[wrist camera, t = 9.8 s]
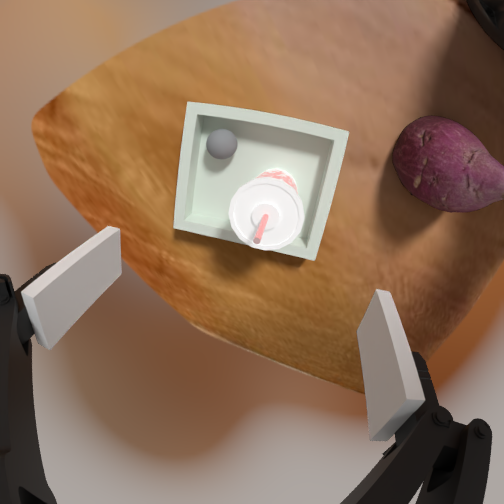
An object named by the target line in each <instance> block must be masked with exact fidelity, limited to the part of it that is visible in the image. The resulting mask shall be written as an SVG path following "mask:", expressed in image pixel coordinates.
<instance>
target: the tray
mask: <svg viewBox="0 0 504 504" xmlns="http://www.w3.org/2000/svg"><path fill="white" fill-rule="evenodd" d="M218 129H227V130H229V131H231V132H232V133H233V134H234V135H235V136H236V138H237V142H238V145H237V150H236V152H235V153H234V154H233V155H232V156H231V157H229V158H227V159H216V158H214V157H212V156H211V155H210V154H209V152H208V151H207V148H206V141H207V138H208V136H209V135H210V134H211V133H212V132H213V131H215V130H218ZM348 135H349V132H348V131H345V130H342V129H338V128H334V127H330V126H326V125H322V124H318V123H314V122H310V121H306V120H301V119H297V118H292V117H287V116H282V115H277V114H272V113H267V112H261V111H256V110H250V109H243V108H237V107H230V106H223V105H215V104H207V103H197V102H188V103H187V109H186V116H185V123H184V130H183V138H182V145H181V154H180V162H179V171H178V181H177V191H176V202H175V214H174V227H173V228H175V229H180V230H184V231H189V232H193V233H197V234H202V235H206V236H210V237H215V238H219V239H223V240H228V241H232V242H236V243H241V244H245V245H248V244H246V243H245V242H243V241H242V240H240V239H239V238H238V236H237V235H236V233H235V232H234V230H233V229H232V227H231V223H230V219H229V214H228V213H229V208H230V202H231V199H232V198H233V196H234V195H235V193H236V192H237V190H238V189H239V188H240V187H241V186H242V185H244V184H246V183H247V182H249V181H250V180H252V179H255V178H256V177H257V176H259V175H260V174H261V173H263V172H265V171H266V170H268V169H275V168H277V169H281V170H285V171H286V172H288V173H289V174H290V175H292V177H293V179H294V180H295V182H296V186H297V192H298V195H299V197H300V199H301V200H302V203H303V210H304V222H303V225H302V229H301V232H300V233H299V234H298V236H297V237H296V238H295V239H294V240H293V242H292V243H290V244H288V245H286V246H284V247H282V248H280V249H275V250H271V251H275V252H279V253H284V254H288V255H292V256H297V257H301V258H305V259H309V260H314V261H315V258H316V255H317V252H318V248H319V245H320V242H321V238H322V235H323V231H324V228H325V224H326V221H327V217H328V214H329V210H330V206H331V203H332V199H333V195H334V192H335V188H336V184H337V180H338V176H339V172H340V168H341V164H342V160H343V156H344V152H345V148H346V144H347V140H348Z"/></svg>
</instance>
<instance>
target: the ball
mask: <svg viewBox="0 0 504 504" xmlns="http://www.w3.org/2000/svg"><path fill="white" fill-rule="evenodd" d="M237 145H238V142H237V138H236V136H235V135H234V134H233V133H232V132H231V131H229V130H227V129H218V130H215V131H213V132H212V133H211V134H210V135H209V136H208V138H207V141H206V148H207V151H208V152H209V154H210V155H211V156H212V157H214V158H216V159H227V158H229V157H231V156H232V155H233V154H234V153H235V152H236V150H237Z"/></svg>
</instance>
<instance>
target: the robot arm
mask: <svg viewBox="0 0 504 504" xmlns="http://www.w3.org/2000/svg"><path fill="white" fill-rule="evenodd" d="M466 1H467V3H468V5H469V7H470V9H471V11H472V13H473V14H474V16H475V18H476V19H477V21H478V22H479V24H480V25H481V26H482V28H483V29H484V30H485V32H486V33H487V34H488V35H489V36H490V37H491V38H492V39H493V40H494V42H496V43H497V44H498V45H499V46H500V47H501V48H502V49H503V50H504V0H466ZM121 274H122V269H121V248H120V229H118V228H114V227H110V226H108V227H106V228H105V229H103V230H102V231H100V232H99V233H97V234H96V235H95V236H93V237H92V238H90V239H89V240H87V241H86V242H85V243H83V244H82V245H81V246H79V247H78V248H77V249H75V250H74V251H72V252H71V253H70V254H68V255H67V256H66V257H64V258H63V259H62V260H60V261H59V262H58V263H53V264H51V265H49V266H46V267H45V268H44V269H42V270H41V271H40V272H39V274H36V275H35V276H33V278H31V279H30V280H28V281H27V282H26V283H25V284H23V285H22V286H21V287H20V288H18V289H17V290H16V291H15V292H14V289H13V285H12V281H11V278H10V277H9V275H6V274H0V504H57V502H56V499H55V497H54V495H53V493H52V491H51V489H50V488H49V486H48V484H47V481H46V478H45V474H44V469H43V465H42V460H41V454H40V448H39V442H38V435H37V428H36V420H35V410H34V399H33V385H32V384H33V383H32V343H31V339H30V338H31V337H32V335H33V334H35V336H36V339H37V342H38V344H40V345H42V346H43V347H45V348H47V349H49V350H51V349H52V348H53V346H54V345H55V344H56V343H57V342H58V341H59V340H60V338H61V337H62V336H63V335H64V334H65V333H66V332H67V331H68V330H69V328H70V327H71V326H72V325H73V324H74V323H75V322H76V321H77V320H78V319H79V318H80V316H81V315H82V314H83V313H84V312H85V311H86V310H87V309H88V308H89V307H90V306H91V305H92V304H93V303H94V301H96V300H97V299H98V297H99V296H100V295H101V294H102V293H103V292H104V291H105V290H106V289H107V288H108V287H109V286H110V285H111V284H112V283H113V282H114V281H115V280H116V279H117V278H118V277H119V276H120V275H121ZM357 338H358V344H359V350H360V357H361V364H362V372H363V379H364V387H365V396H366V405H367V415H368V424H369V437H370V441H387V440H389V439H390V438H391V437H392V436H393V434H395V439H396V442H395V443H394V444H393V445H392V446H391V447H390V448H388V449H387V450H386V451H385V452H384V453H383V455H384V456H383V457H382V458H381V460H380V461H379V462H378V463H377V464H376V466H375V467H374V468H373V469H372V470H371V472H370V473H369V474H368V475H367V476H366V477H365V478H364V479H363V480H362V482H361V483H360V484H359V485H358V486H357V487H356V488H355V489H354V490H353V491H352V492H351V493H350V494H349V496H347V497H346V498H345V499H344V500H343V501H342V502H341V503H340V504H408V503H409V502H410V501H411V499H412V498H413V496H414V495H415V493H416V492H417V490H418V489H419V487H420V486H421V484H422V483H423V485H422V488H421V490H420V493H419V496H418V499H417V501H416V504H483V500H484V495H485V489H486V484H487V478H488V471H489V464H490V455H491V444H492V431H491V429H490V426H489V425H488V424H487V423H486V422H485V421H484V420H482V419H473V420H472V421H471V422H470V423H469V424H468V425H464V424H461V423H458V422H455V421H453V417H452V415H451V414H450V412H449V411H448V410H447V409H445V408H444V407H442V406H439V403H438V400H437V396H436V393H435V390H434V387H433V383H432V380H430V379H431V377H430V374H429V372H428V368H427V365H426V362H425V360H424V359H423V358H422V356H421V355H420V354H419V352H412V351H411V350H410V347H409V344H408V341H407V338H406V335H405V332H404V329H403V326H402V323H401V320H400V318H399V315H398V312H397V309H396V307H395V304H394V301H393V299H392V296H391V294H390V292H388V291H384V290H379V289H376V290H375V293H374V295H373V297H372V299H371V302H370V304H369V306H368V308H367V311H366V313H365V315H364V317H363V319H362V321H361V323H360V325H359V328H358V330H357ZM423 481H424V482H423Z"/></svg>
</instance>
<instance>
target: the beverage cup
mask: <svg viewBox="0 0 504 504" xmlns="http://www.w3.org/2000/svg"><path fill="white" fill-rule="evenodd" d="M228 214H229V219H230V223H231V227H232V229H233V230H234V232H235V233H236V235H237V236H238V238H239V239H240V240H242V241H243V242H245V243H246V244H248V245H249V246H250V247H253V248H257V249H261V250H275V249H280V248H282V247H284V246H286V245H288V244H290V243H292V242H293V240H294V239H295V238H296V237H297V236H298V234H299V233H300V232H301V229H302V225H303V222H304V210H303V203H302V200H301V199H300V197H299V195H298V192H297V186H296V182H295V180H294V179H293V177H292V175H290V174H289V173H288V172H286V171H285V170H281V169H277V168H275V169H268V170H266V171H265V172H263V173H261V174H260V175H259V176H257V177H256V178H255V179H252V180H250V181H249V182H247V183H246V184H244V185H242V186H241V187H240V188H239V189H238V190H237V192H236V193H235V195H234V196H233V198H232V199H231V202H230V208H229V213H228Z"/></svg>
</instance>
